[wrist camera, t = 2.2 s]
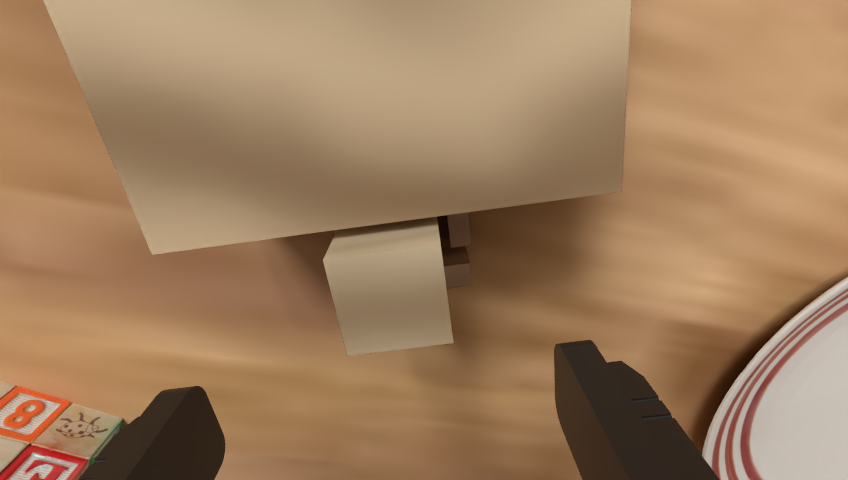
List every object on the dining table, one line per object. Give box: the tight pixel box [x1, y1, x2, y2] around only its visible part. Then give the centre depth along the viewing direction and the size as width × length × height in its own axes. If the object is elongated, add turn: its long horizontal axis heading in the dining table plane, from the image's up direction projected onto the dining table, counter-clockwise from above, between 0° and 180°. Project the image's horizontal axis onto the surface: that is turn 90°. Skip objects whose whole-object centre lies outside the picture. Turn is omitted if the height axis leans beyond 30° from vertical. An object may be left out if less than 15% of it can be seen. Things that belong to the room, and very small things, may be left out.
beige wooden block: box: [323, 217, 454, 356], centre depth 17 cm, size 4×4×8 cm
